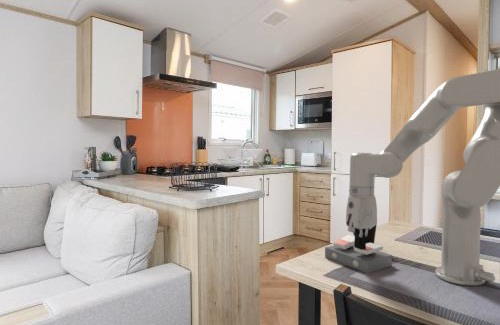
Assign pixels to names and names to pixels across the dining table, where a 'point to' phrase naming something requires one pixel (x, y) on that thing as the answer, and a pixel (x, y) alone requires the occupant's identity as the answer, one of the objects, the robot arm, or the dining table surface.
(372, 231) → the coffee mug
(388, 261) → the rocker switch panel
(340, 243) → the rocker
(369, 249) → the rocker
